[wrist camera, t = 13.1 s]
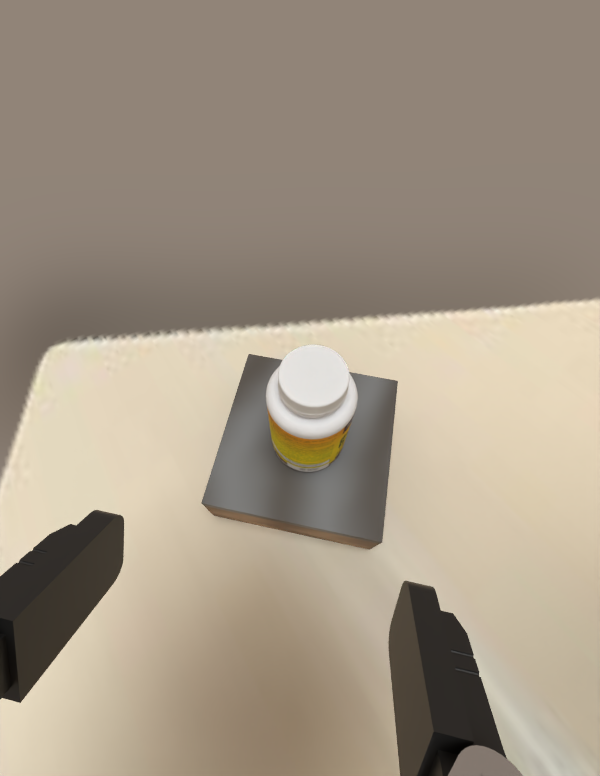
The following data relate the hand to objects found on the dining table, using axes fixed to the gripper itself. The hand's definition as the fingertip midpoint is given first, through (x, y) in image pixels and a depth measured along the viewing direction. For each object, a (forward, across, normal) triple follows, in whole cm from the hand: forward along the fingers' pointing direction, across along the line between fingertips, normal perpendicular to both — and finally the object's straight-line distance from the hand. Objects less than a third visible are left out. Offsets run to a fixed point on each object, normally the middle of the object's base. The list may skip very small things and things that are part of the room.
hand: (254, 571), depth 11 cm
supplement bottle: (+19, 0, +4) cm, 20 cm away
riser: (+23, 0, +8) cm, 24 cm away
